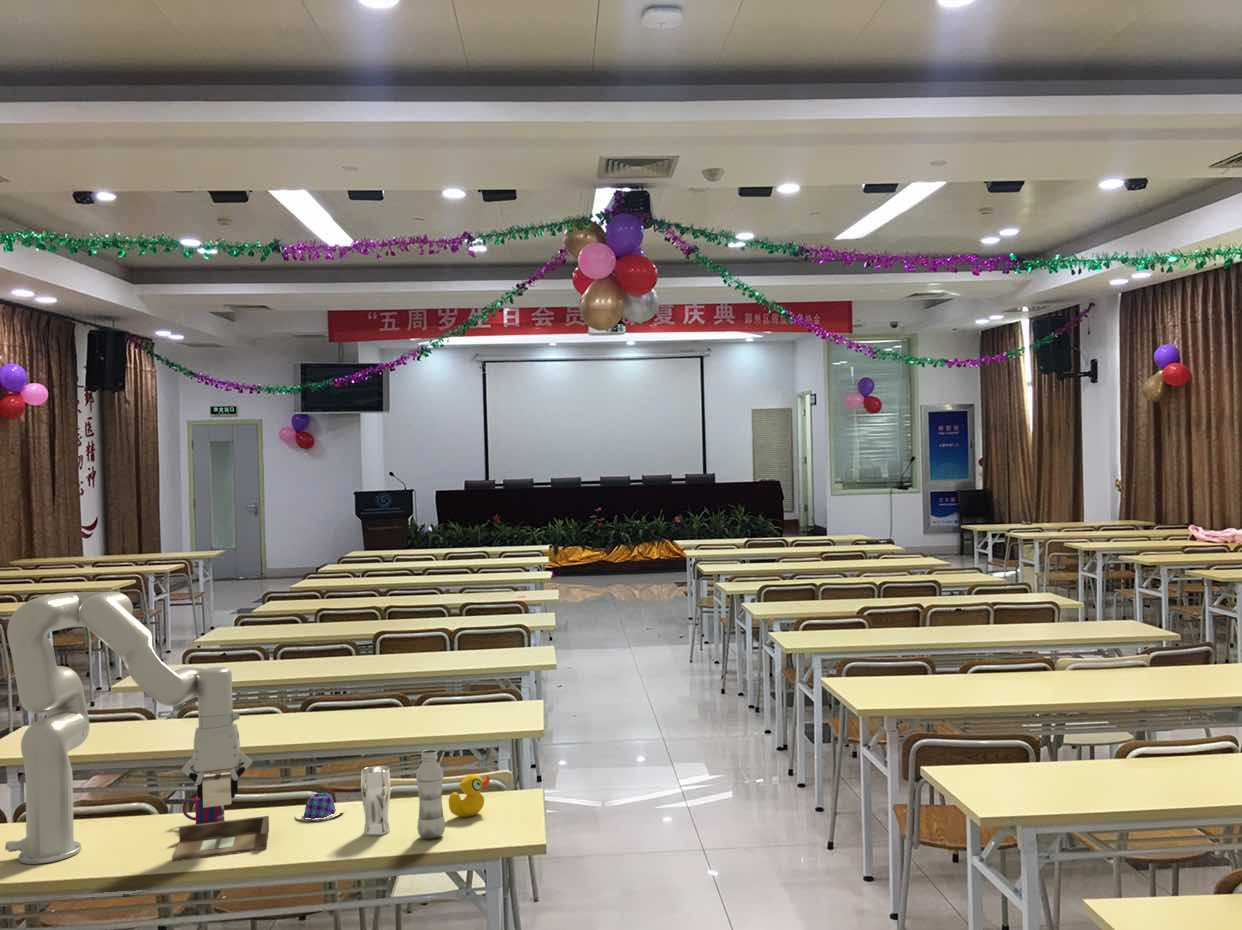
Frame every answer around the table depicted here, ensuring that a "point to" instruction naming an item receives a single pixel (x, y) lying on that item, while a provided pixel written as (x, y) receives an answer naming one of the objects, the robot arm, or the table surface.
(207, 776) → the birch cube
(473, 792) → the duckling
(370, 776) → the beer glass
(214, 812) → the mug
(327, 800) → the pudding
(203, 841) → the wooden tray
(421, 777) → the plastic bottle
